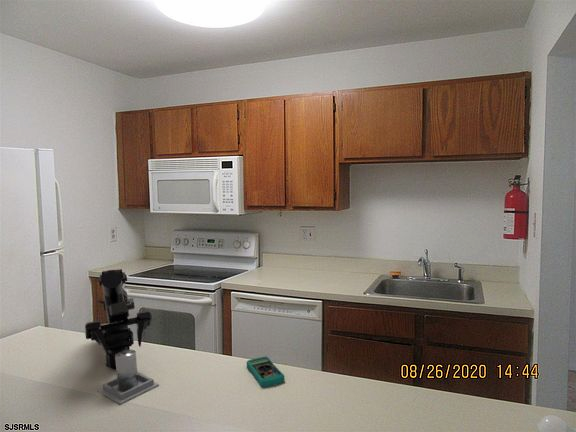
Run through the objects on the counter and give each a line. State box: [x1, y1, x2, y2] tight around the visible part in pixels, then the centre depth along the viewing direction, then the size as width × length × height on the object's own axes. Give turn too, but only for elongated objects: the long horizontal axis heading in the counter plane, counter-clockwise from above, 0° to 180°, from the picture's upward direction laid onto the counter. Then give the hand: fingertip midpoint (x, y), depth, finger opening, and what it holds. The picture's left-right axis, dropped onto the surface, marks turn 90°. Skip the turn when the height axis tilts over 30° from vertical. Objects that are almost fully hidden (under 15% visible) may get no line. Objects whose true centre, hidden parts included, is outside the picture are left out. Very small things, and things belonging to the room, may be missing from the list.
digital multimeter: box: [246, 355, 285, 388], centre depth 124 cm, size 7×15×3 cm, turn 23°
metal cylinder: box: [115, 349, 139, 392], centre depth 118 cm, size 6×6×10 cm
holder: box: [97, 371, 160, 405], centre depth 119 cm, size 12×12×2 cm
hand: (124, 350), depth 122 cm, fingers open, 9 cm apart
